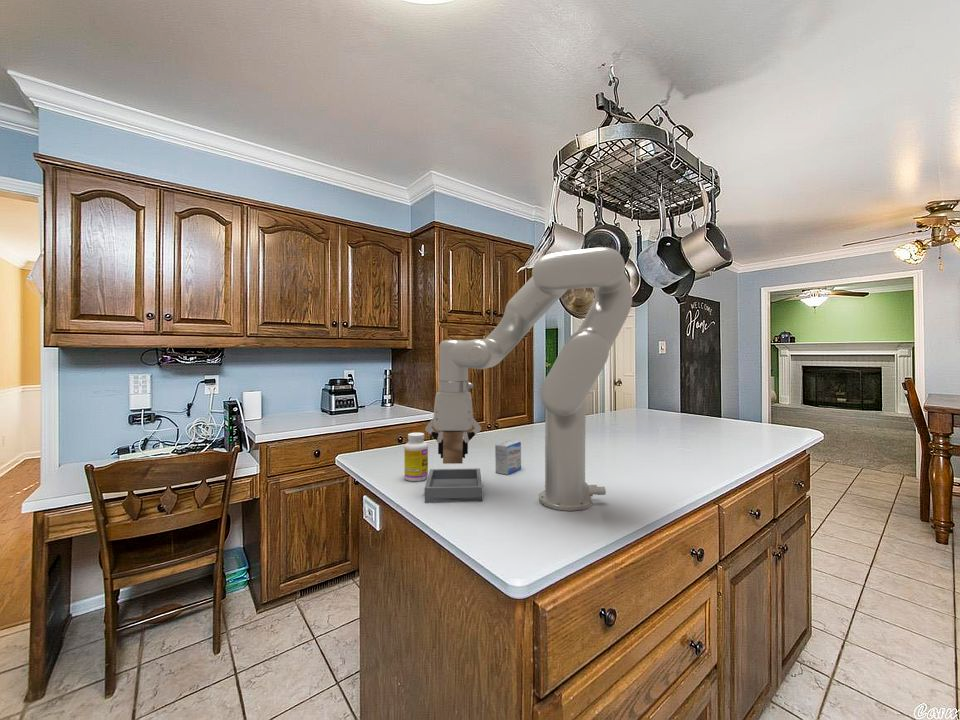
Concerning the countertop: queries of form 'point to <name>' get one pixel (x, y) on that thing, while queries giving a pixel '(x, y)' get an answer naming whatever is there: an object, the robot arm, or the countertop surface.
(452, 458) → the walnut block
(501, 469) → the medicine box
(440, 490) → the tray
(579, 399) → the robot arm
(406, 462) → the supplement bottle
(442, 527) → the countertop surface
